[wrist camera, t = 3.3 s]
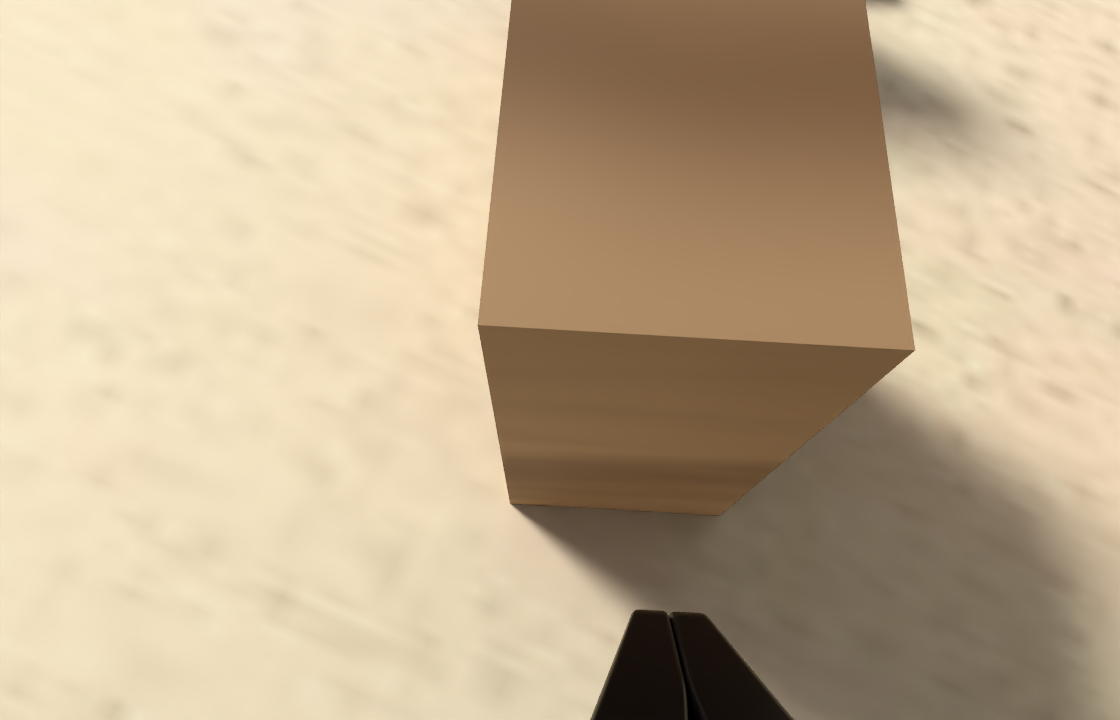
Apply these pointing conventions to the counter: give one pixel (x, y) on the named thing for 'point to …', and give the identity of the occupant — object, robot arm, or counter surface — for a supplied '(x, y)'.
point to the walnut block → (684, 246)
